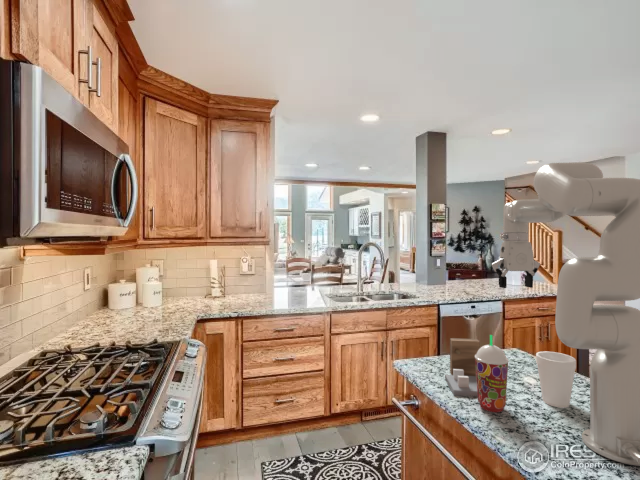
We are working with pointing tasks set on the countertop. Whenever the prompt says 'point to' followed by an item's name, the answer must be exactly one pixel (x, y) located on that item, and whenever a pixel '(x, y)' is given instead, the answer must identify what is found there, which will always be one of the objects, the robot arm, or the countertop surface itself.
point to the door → (463, 355)
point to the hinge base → (462, 383)
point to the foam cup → (556, 377)
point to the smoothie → (491, 377)
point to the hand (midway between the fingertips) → (515, 287)
